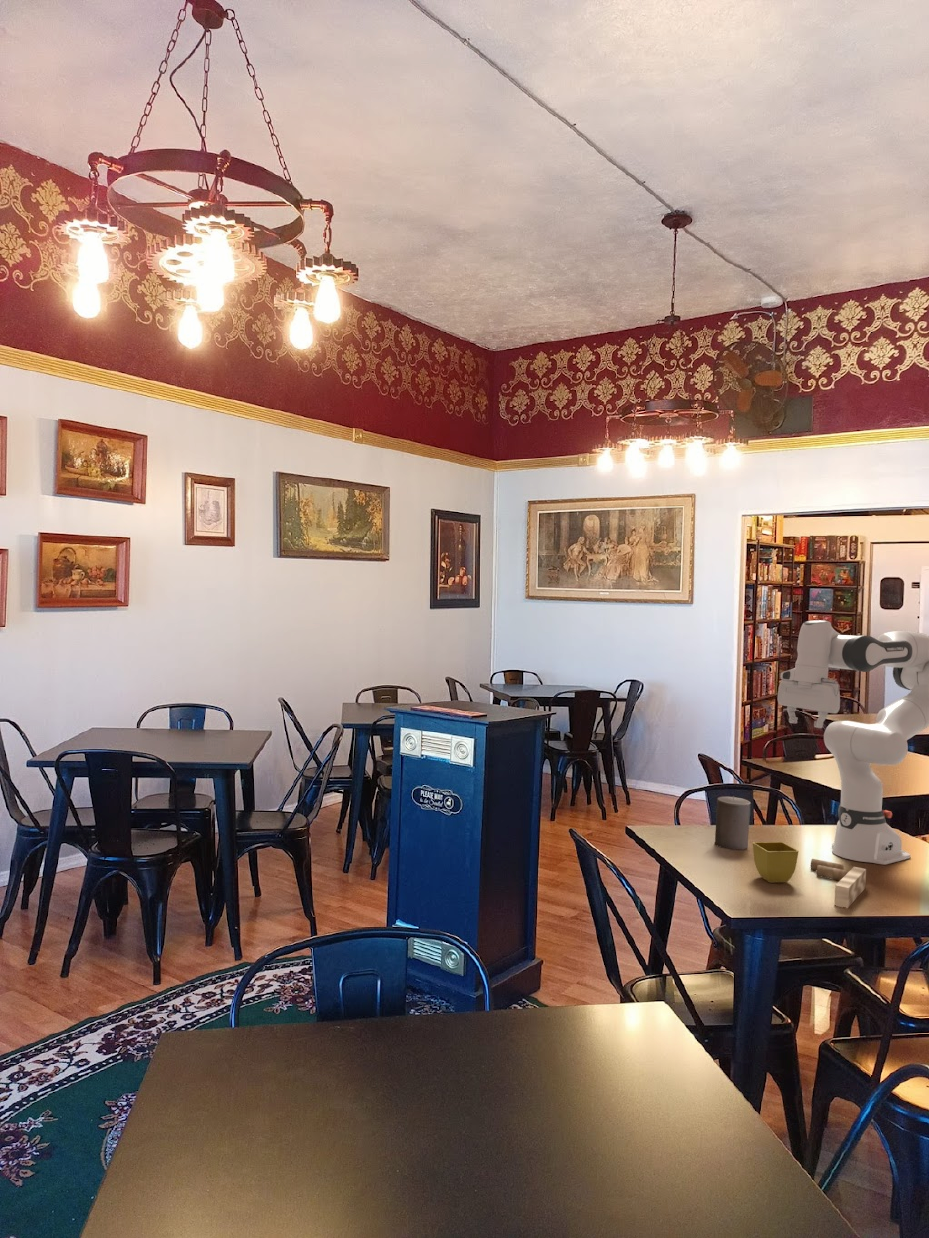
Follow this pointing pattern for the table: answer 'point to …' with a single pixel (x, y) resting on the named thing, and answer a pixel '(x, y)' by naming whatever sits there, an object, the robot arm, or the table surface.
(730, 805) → the pillar candle
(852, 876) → the rail
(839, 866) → the roller
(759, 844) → the flower pot
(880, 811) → the robot arm
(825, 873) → the roller
